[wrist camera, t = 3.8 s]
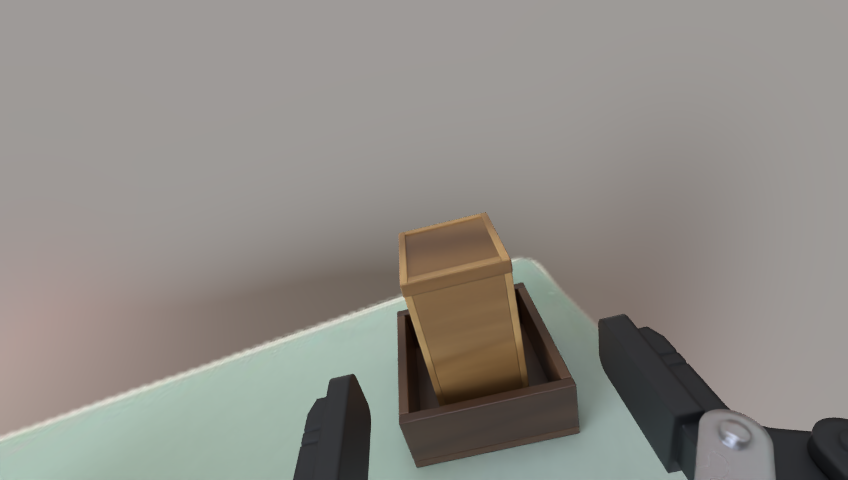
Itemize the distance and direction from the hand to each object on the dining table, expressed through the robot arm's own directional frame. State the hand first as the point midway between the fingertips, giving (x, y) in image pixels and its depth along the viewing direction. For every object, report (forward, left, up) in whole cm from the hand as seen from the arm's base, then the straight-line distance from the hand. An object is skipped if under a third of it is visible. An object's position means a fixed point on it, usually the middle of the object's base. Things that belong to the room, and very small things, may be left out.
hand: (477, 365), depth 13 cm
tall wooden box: (+3, -9, -12) cm, 16 cm away
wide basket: (+3, -9, -13) cm, 16 cm away
